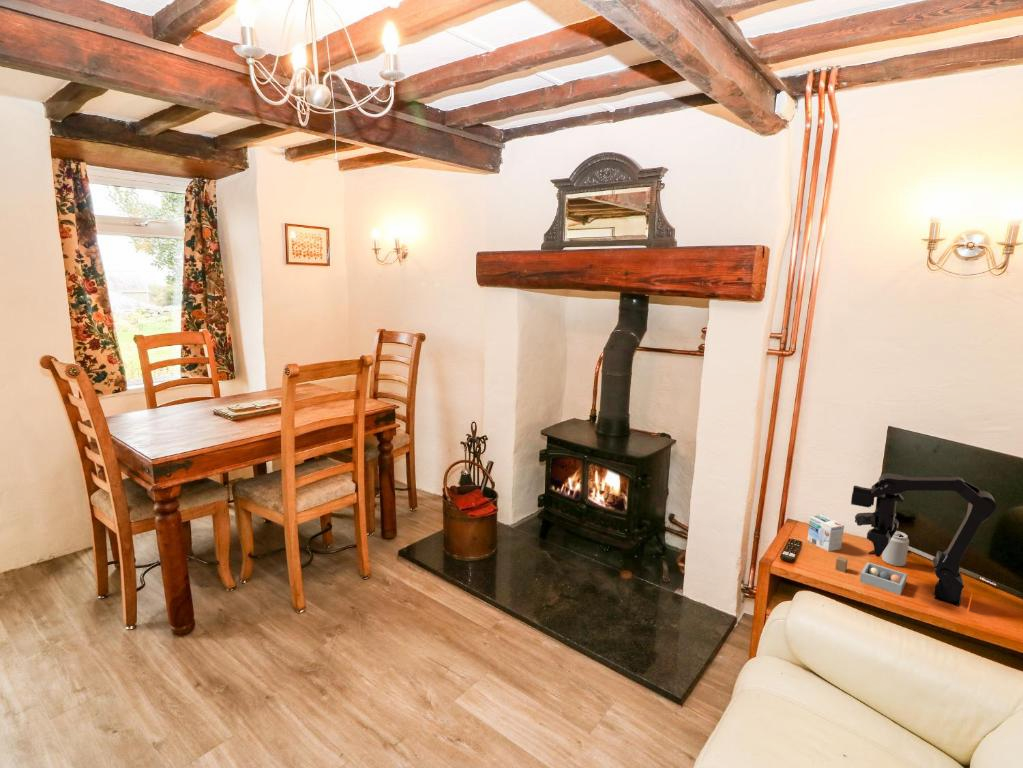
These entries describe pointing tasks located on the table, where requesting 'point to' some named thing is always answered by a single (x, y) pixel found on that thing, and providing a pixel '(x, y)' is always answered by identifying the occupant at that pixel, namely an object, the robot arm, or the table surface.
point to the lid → (841, 564)
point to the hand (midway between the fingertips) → (880, 551)
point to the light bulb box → (825, 533)
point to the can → (896, 550)
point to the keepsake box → (881, 582)
